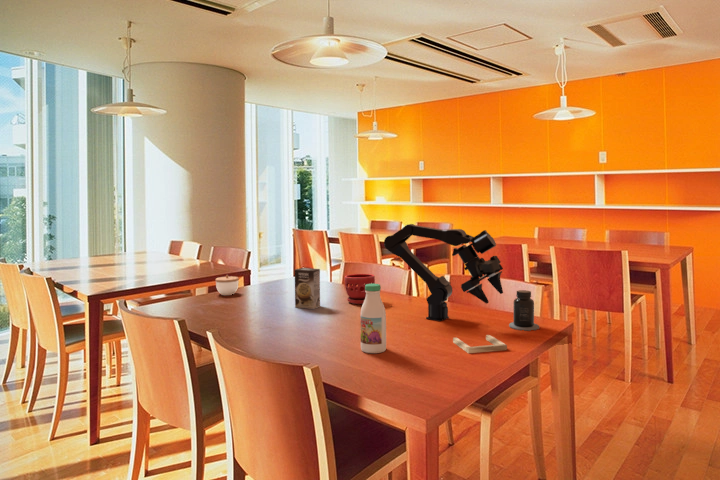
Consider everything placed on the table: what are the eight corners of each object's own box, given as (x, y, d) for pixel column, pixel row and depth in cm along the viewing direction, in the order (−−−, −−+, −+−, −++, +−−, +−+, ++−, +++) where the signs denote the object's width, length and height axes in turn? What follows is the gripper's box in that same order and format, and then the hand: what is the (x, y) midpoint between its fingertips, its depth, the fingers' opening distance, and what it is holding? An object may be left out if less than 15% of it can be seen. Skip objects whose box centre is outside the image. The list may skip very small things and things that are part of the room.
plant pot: (380, 300, 217) (380, 274, 216) (364, 306, 206) (364, 278, 205) (355, 297, 224) (355, 271, 223) (339, 303, 213) (338, 276, 212)
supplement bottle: (537, 325, 171) (538, 291, 170) (527, 328, 167) (527, 294, 166) (519, 321, 176) (520, 288, 175) (509, 325, 172) (509, 291, 171)
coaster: (504, 327, 171) (504, 326, 171) (515, 321, 179) (515, 320, 178) (533, 332, 164) (533, 330, 164) (543, 326, 172) (543, 324, 172)
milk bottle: (369, 344, 154) (369, 281, 152) (391, 348, 149) (390, 283, 147) (355, 351, 147) (354, 285, 146) (377, 355, 143) (376, 287, 141)
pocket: (453, 342, 155) (453, 337, 155) (489, 339, 157) (489, 334, 157) (468, 353, 144) (468, 348, 144) (506, 350, 146) (507, 345, 146)
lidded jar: (212, 296, 233) (211, 276, 232) (222, 291, 243) (221, 273, 242) (233, 296, 231) (232, 276, 230) (242, 292, 241) (242, 273, 240)
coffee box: (294, 307, 206) (293, 269, 205) (302, 304, 212) (301, 267, 211) (313, 309, 203) (313, 270, 201) (321, 305, 209) (320, 268, 207)
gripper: (471, 259, 165) (496, 300, 162) (501, 243, 176) (525, 280, 174) (450, 272, 173) (474, 311, 171) (480, 255, 185) (503, 291, 182)
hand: (494, 298), depth 174 cm, fingers open, 9 cm apart
